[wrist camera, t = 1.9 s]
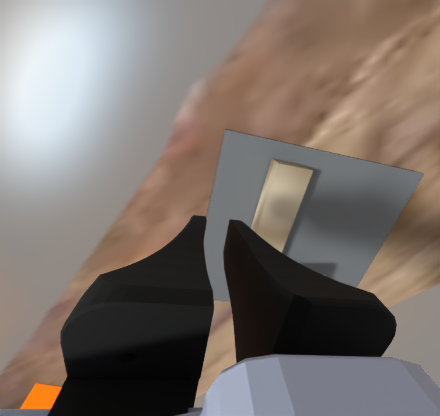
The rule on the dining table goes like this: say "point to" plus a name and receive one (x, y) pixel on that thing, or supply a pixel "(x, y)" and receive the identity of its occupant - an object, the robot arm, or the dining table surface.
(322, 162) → the board
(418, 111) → the dining table surface
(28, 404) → the orange juice
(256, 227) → the link
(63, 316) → the dining table surface
